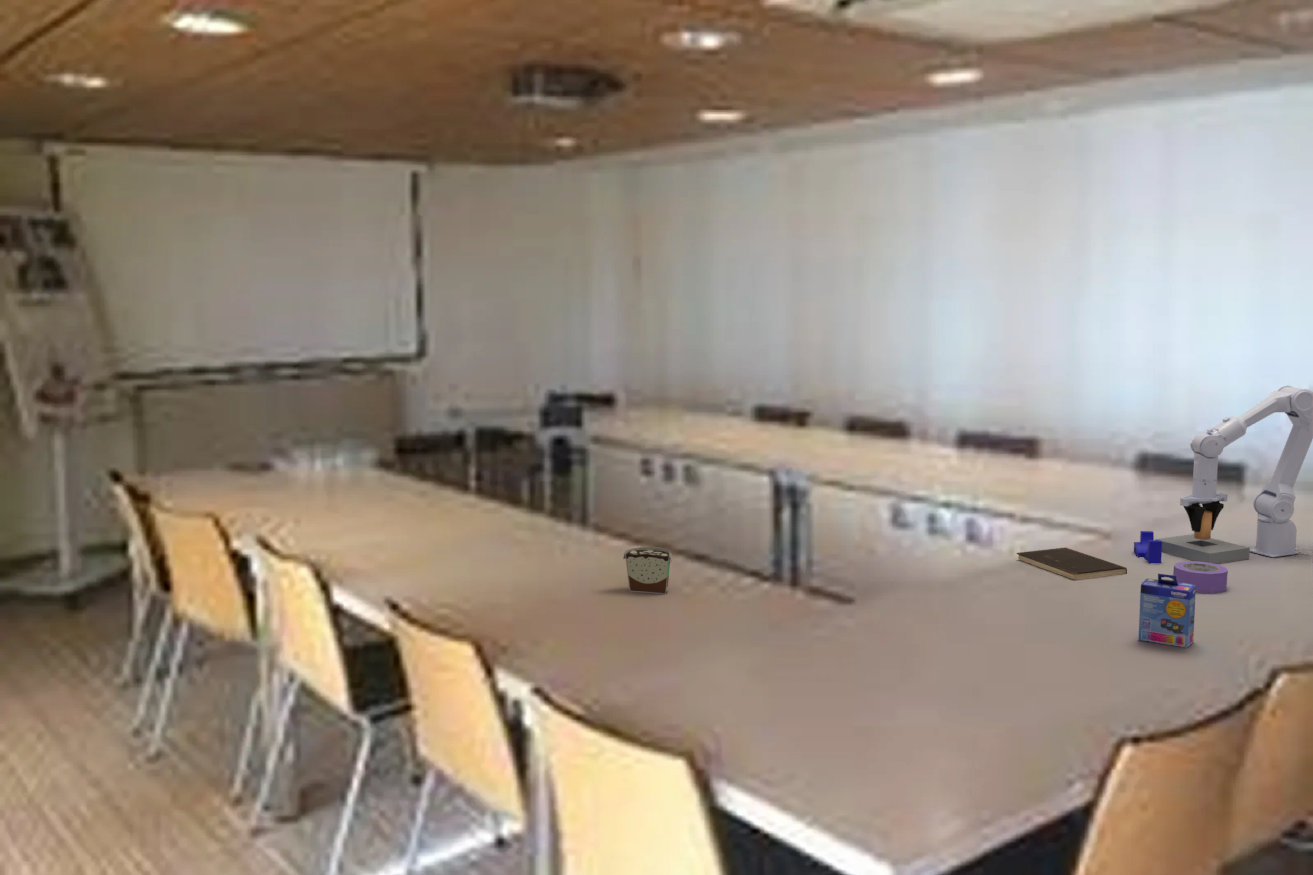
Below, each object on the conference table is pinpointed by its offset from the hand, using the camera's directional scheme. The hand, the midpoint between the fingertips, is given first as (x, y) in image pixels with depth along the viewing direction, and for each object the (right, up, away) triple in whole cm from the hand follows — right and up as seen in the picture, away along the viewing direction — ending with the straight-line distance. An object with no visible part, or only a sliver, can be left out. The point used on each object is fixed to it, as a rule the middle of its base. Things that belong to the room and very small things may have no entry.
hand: (1202, 530), depth 321 cm
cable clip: (-15, -7, -1) cm, 17 cm away
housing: (0, -6, +1) cm, 6 cm away
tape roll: (-14, -12, -30) cm, 35 cm away
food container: (-145, -13, -24) cm, 147 cm away
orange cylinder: (0, -2, 0) cm, 2 cm away
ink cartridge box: (-39, -18, -70) cm, 82 cm away
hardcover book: (-38, -9, -9) cm, 40 cm away
